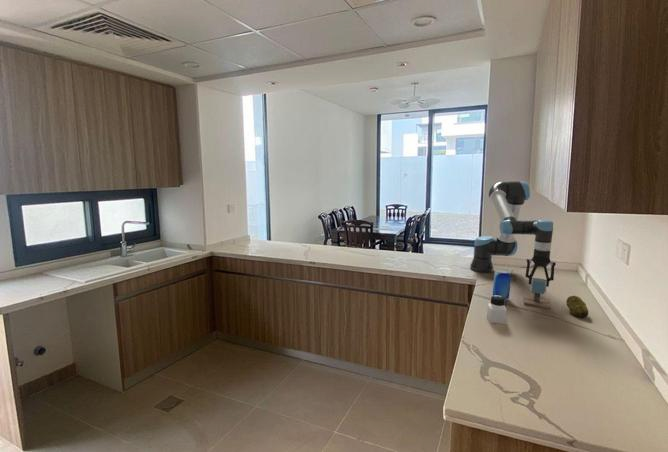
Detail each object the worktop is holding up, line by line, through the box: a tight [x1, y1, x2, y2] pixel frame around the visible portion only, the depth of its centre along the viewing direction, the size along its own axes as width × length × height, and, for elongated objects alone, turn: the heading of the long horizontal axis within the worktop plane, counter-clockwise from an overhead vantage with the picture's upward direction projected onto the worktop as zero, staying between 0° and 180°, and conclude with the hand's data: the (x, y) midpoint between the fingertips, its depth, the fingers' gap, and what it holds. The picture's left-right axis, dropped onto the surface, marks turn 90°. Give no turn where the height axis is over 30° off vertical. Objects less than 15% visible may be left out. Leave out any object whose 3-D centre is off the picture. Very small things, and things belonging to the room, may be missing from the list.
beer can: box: [492, 268, 512, 301], centre depth 198 cm, size 8×8×16 cm
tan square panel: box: [523, 293, 551, 310], centre depth 193 cm, size 12×12×6 cm
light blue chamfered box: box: [531, 277, 546, 295], centre depth 192 cm, size 6×6×7 cm
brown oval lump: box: [565, 295, 589, 319], centre depth 179 cm, size 8×13×8 cm, turn 155°
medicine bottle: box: [486, 295, 508, 325], centre depth 171 cm, size 7×7×12 cm
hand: (537, 291), depth 192 cm, fingers closed on light blue chamfered box, 6 cm apart
